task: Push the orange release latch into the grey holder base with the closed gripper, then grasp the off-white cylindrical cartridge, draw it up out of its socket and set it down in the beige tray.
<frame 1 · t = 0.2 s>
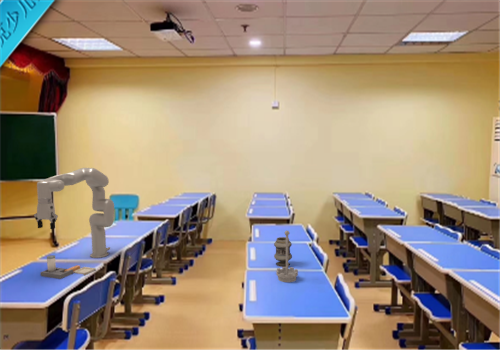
hand: (46, 228, 232), 31 cm above the table, fingers open, 9 cm apart
apothecary jar: (283, 264, 253), on the table
cartridge: (52, 274, 237), resting on grey holder base
grey holder base: (57, 275, 235), on the table
flag stand: (287, 279, 227), on the table
tray: (84, 272, 241), on the table
latch: (72, 269, 241), point 2 cm above the table, slide at 0.0 cm
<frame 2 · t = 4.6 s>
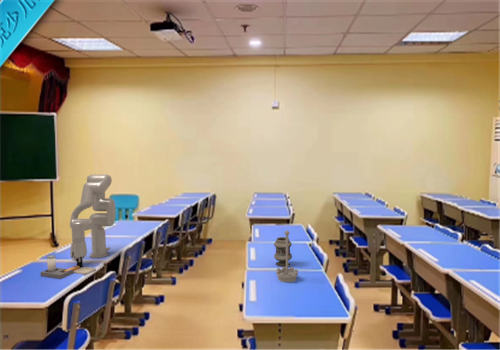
hand: (79, 267, 247), 1 cm above the table, fingers closed
latch: (71, 270, 241), point 2 cm above the table, slide at 0.5 cm, touching gripper
everything else where it was.
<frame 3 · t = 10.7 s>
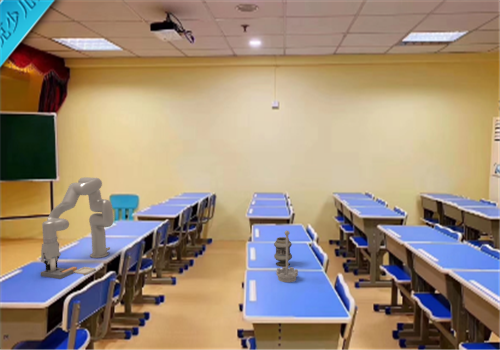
hand: (51, 268, 236), 4 cm above the table, fingers closed on cartridge, 4 cm apart
cartridge: (52, 274, 237), point 1 cm above the table, touching grey holder base, gripper
latch: (69, 271, 239), point 2 cm above the table, slide at 2.8 cm
everything else where it was.
when the fingers open (5 cm above the table, at t = 17.1 s): cartridge stays where it is, resting on tray.
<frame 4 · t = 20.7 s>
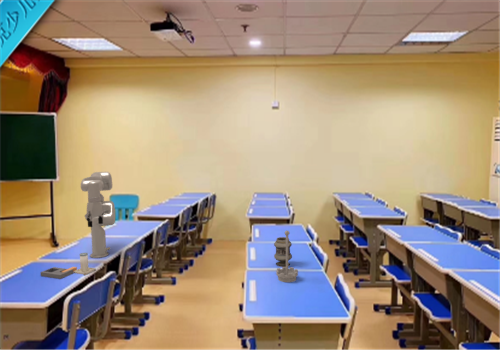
hand: (95, 225, 249), 28 cm above the table, fingers open, 9 cm apart
cartridge: (84, 271, 241), point 1 cm above the table, touching tray
everything else where it was.
at the end: latch slide at 2.8 cm; cartridge inside the target area on the tray (0.1 cm from its centre), point 0.6 cm above the tray's base; cartridge tilted 1° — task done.
